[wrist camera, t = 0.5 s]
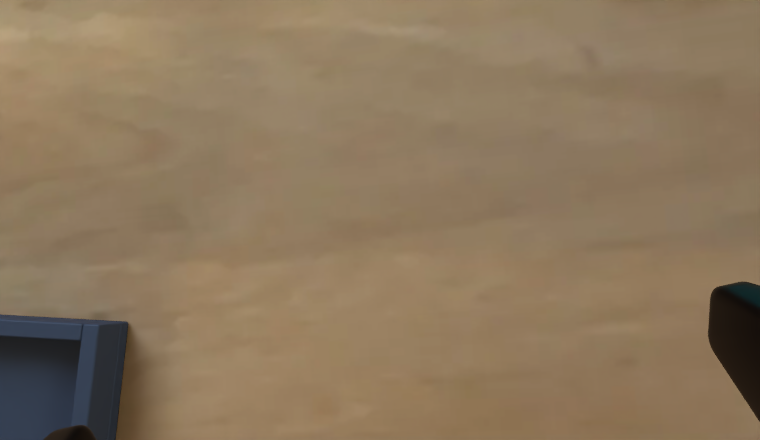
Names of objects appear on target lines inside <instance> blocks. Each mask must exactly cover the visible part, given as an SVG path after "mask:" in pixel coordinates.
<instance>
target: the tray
mask: <svg viewBox="0 0 760 440" xmlns="http://www.w3.org/2000/svg"><path fill="white" fill-rule="evenodd" d="M127 330H128V322H122V321H104V320H86V319H68V318H50V317H32V316H15V315H0V440H43V439H44V438H45V437H47V436H48V435H49V434H50V433H52V432H53V431H55V430H58V429H62V428H67V427H71V426H76V425H85V426H87V427H88V428H90V430H91V431H92V433H93V434H94V436H95V438H96V439H97V440H115V438H116V429H117V420H118V411H119V402H120V393H121V384H122V375H123V366H124V357H125V348H126V339H127Z"/></svg>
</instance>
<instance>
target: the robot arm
mask: <svg viewBox="0 0 760 440" xmlns="http://www.w3.org/2000/svg"><path fill="white" fill-rule="evenodd" d="M708 337H709V342H710V345H711V348H712V350H713V352H714V353H715V355H716V356H717V358H718V359H719V361H720V362H721V364H722V365H723V367H724V368H725V370H726V371H727V373H728V374H729V376H730V377H731V379H732V381H733V382H734V384H735V385H736V387H737V388H738V390H739V391H740V393H741V394H742V396H743V397H744V399H745V400H746V402H747V403H748V405H749V406H750V408H751V409H752V411H753V412H754V414H755V415H756V417H757V418H758V420H759V421H760V286H759V285H756V284H752V283H749V282H737V283H733V284H728V285H723V286H719V287H717V288H715V289H714V290H713V291H712V293H711V298H710V312H709V328H708ZM43 440H97V439H96V438H95V436H94V434H93V433H92V431H91V430H90V428H88V427H87V426H85V425H76V426H71V427H67V428H62V429H58V430H55V431H53V432H52V433H50V434H49V435H48V436H47V437H45V438H44V439H43Z"/></svg>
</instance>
